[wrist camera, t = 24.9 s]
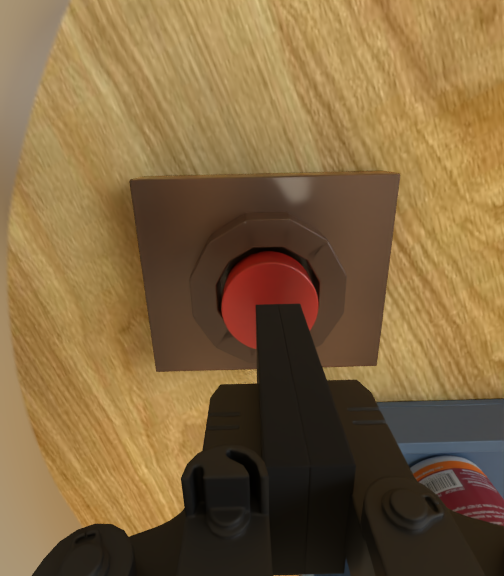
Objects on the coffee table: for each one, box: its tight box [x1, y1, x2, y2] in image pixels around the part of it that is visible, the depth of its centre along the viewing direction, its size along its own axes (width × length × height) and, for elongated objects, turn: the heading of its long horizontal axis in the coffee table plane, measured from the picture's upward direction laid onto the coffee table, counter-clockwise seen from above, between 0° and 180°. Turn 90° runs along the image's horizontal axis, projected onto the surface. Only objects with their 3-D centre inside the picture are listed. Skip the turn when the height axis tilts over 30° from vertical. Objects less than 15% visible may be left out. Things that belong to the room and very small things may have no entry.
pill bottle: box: [410, 456, 504, 526], centre depth 20 cm, size 6×6×11 cm
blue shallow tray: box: [299, 399, 504, 576], centre depth 24 cm, size 20×14×4 cm
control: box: [130, 171, 400, 372], centre depth 18 cm, size 12×10×4 cm
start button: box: [221, 251, 318, 349], centre depth 15 cm, size 4×4×2 cm
